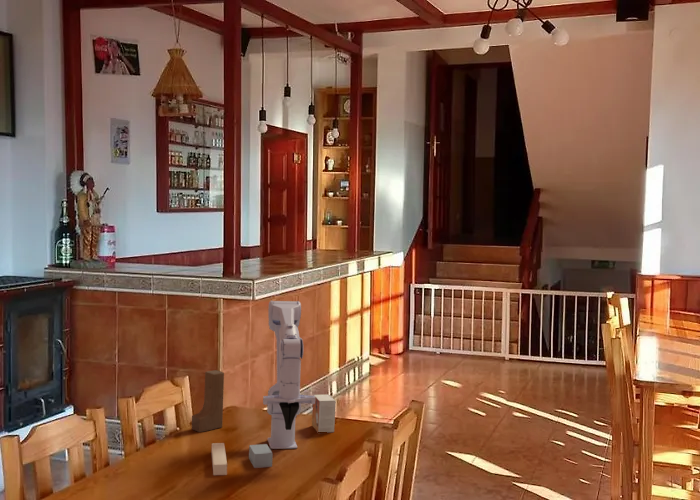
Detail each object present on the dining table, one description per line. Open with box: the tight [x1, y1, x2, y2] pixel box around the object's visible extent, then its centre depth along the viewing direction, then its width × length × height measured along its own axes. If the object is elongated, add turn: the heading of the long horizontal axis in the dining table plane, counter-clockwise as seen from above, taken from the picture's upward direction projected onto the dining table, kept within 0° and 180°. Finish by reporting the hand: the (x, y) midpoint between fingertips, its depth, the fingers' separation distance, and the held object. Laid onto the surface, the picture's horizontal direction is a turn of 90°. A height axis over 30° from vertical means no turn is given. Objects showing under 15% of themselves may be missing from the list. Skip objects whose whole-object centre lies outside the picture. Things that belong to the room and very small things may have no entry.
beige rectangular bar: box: [211, 442, 228, 476], centre depth 212 cm, size 18×4×3 cm, turn 12°
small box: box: [311, 393, 337, 433], centre depth 247 cm, size 8×6×10 cm
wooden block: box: [191, 369, 225, 433], centre depth 242 cm, size 9×4×18 cm, turn 135°
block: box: [248, 443, 273, 469], centre depth 214 cm, size 8×5×4 cm, turn 18°
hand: (288, 428), depth 215 cm, fingers closed
